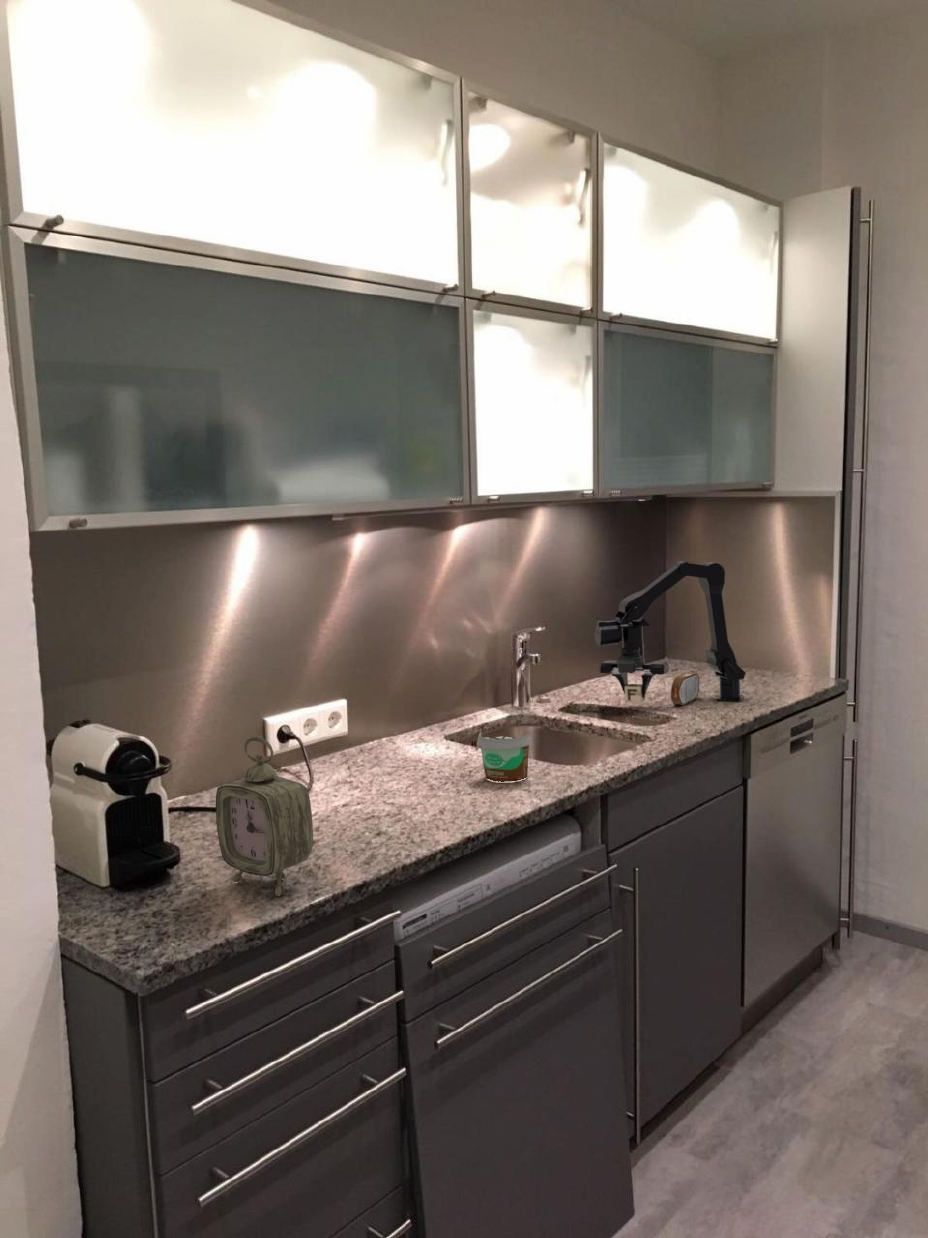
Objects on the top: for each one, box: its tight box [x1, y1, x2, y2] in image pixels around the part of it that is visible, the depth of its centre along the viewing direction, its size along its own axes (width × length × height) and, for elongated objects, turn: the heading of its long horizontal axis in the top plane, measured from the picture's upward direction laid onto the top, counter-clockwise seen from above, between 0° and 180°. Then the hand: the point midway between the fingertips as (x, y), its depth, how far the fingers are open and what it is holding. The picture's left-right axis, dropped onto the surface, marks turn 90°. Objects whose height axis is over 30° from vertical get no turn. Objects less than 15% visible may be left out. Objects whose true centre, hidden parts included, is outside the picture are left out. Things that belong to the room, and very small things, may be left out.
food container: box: [476, 732, 533, 782], centre depth 220 cm, size 12×6×10 cm, turn 68°
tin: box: [670, 671, 700, 706], centre depth 290 cm, size 15×3×8 cm, turn 144°
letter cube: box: [624, 683, 646, 704], centre depth 286 cm, size 5×4×5 cm
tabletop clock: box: [215, 736, 314, 896], centre depth 166 cm, size 14×9×25 cm, turn 51°
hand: (635, 697), depth 286 cm, fingers closed on letter cube, 4 cm apart
